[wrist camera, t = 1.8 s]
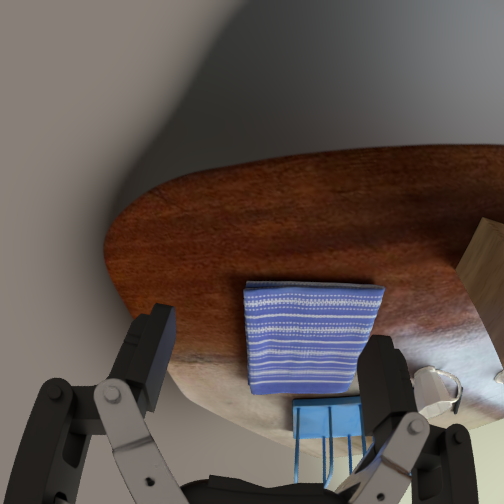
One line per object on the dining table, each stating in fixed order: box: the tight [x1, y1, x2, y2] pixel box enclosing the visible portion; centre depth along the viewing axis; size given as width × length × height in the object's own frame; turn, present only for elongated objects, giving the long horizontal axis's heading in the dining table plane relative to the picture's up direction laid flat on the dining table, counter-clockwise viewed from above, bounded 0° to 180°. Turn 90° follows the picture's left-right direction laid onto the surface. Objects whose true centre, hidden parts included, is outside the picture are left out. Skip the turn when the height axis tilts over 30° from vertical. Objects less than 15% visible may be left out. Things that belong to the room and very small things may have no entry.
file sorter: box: [293, 390, 414, 488], centre depth 50 cm, size 25×17×15 cm
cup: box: [414, 366, 461, 419], centre depth 43 cm, size 7×10×8 cm
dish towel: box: [243, 281, 385, 395], centre depth 42 cm, size 17×24×3 cm
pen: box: [454, 387, 463, 414], centre depth 53 cm, size 1×16×1 cm, turn 26°
